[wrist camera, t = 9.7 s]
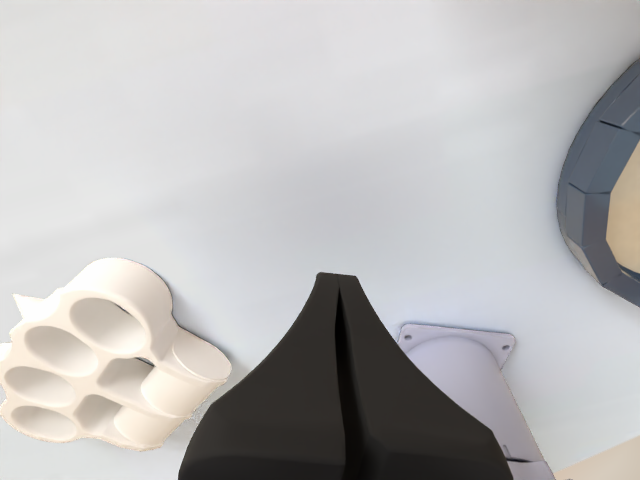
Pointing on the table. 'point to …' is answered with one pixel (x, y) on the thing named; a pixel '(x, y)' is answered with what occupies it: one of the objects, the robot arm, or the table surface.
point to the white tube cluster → (105, 361)
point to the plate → (606, 190)
